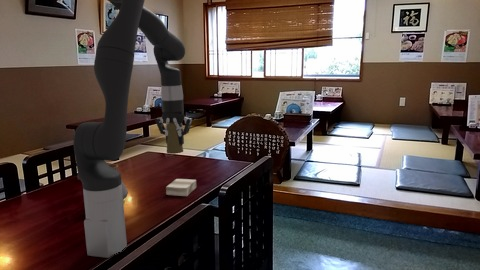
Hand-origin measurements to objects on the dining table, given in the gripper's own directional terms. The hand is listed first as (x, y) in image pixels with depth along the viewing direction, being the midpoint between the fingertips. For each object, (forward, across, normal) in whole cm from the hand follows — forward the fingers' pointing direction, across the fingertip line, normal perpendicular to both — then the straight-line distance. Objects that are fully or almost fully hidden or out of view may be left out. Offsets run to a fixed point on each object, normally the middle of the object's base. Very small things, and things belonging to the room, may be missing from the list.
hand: (175, 145), depth 132 cm
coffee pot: (+18, -19, -18) cm, 32 cm away
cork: (+2, 0, 0) cm, 3 cm away
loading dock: (+18, +1, +2) cm, 18 cm away
